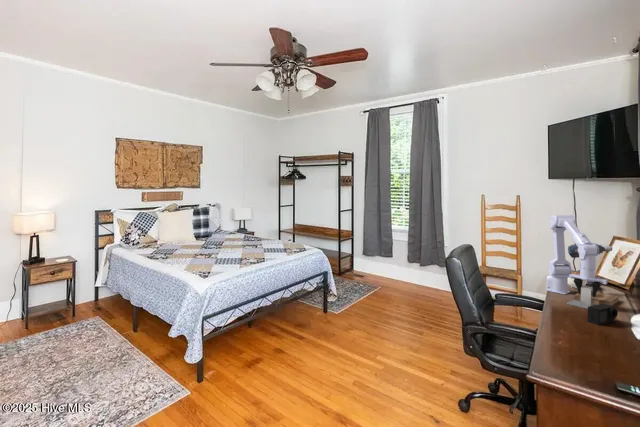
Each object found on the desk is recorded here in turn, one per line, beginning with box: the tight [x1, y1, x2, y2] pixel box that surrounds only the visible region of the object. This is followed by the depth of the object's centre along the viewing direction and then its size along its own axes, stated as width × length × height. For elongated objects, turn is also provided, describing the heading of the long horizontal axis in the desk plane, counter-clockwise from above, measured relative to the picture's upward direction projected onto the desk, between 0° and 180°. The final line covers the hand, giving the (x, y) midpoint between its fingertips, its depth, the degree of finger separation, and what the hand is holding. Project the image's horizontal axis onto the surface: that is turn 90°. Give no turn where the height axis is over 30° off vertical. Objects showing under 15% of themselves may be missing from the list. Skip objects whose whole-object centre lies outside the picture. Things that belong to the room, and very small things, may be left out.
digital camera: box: [587, 304, 619, 326], centre depth 138 cm, size 10×5×7 cm, turn 107°
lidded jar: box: [568, 270, 587, 289], centre depth 189 cm, size 11×11×9 cm
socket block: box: [574, 291, 620, 306], centre depth 166 cm, size 14×14×2 cm
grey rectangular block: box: [581, 285, 594, 306], centre depth 158 cm, size 4×4×9 cm
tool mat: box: [565, 299, 597, 310], centre depth 158 cm, size 14×10×1 cm
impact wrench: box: [567, 242, 613, 286], centre depth 194 cm, size 8×23×25 cm, turn 78°
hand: (587, 295), depth 158 cm, fingers open, 5 cm apart
